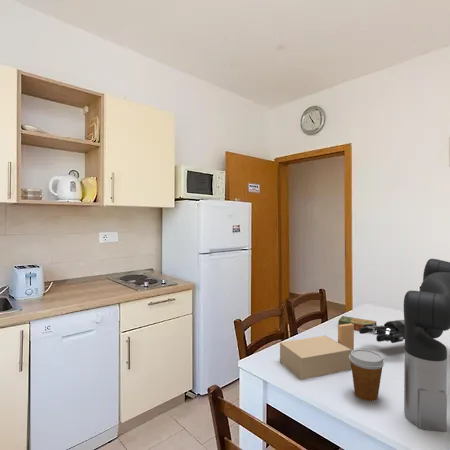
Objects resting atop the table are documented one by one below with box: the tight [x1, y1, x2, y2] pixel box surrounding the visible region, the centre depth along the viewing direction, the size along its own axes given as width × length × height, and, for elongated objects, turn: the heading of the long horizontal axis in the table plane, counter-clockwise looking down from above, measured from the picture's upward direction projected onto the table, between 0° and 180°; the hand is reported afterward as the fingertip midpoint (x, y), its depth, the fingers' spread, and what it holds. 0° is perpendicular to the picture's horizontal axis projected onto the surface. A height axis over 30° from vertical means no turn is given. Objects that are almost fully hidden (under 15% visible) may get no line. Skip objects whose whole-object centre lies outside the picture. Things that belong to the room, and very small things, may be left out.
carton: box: [337, 315, 377, 335], centre depth 149 cm, size 8×16×4 cm, turn 57°
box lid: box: [279, 335, 352, 380], centre depth 110 cm, size 20×14×7 cm
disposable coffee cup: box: [349, 348, 385, 402], centre depth 91 cm, size 10×10×12 cm
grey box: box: [327, 323, 355, 369], centre depth 111 cm, size 26×14×12 cm, turn 110°
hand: (368, 334), depth 118 cm, fingers open, 8 cm apart
